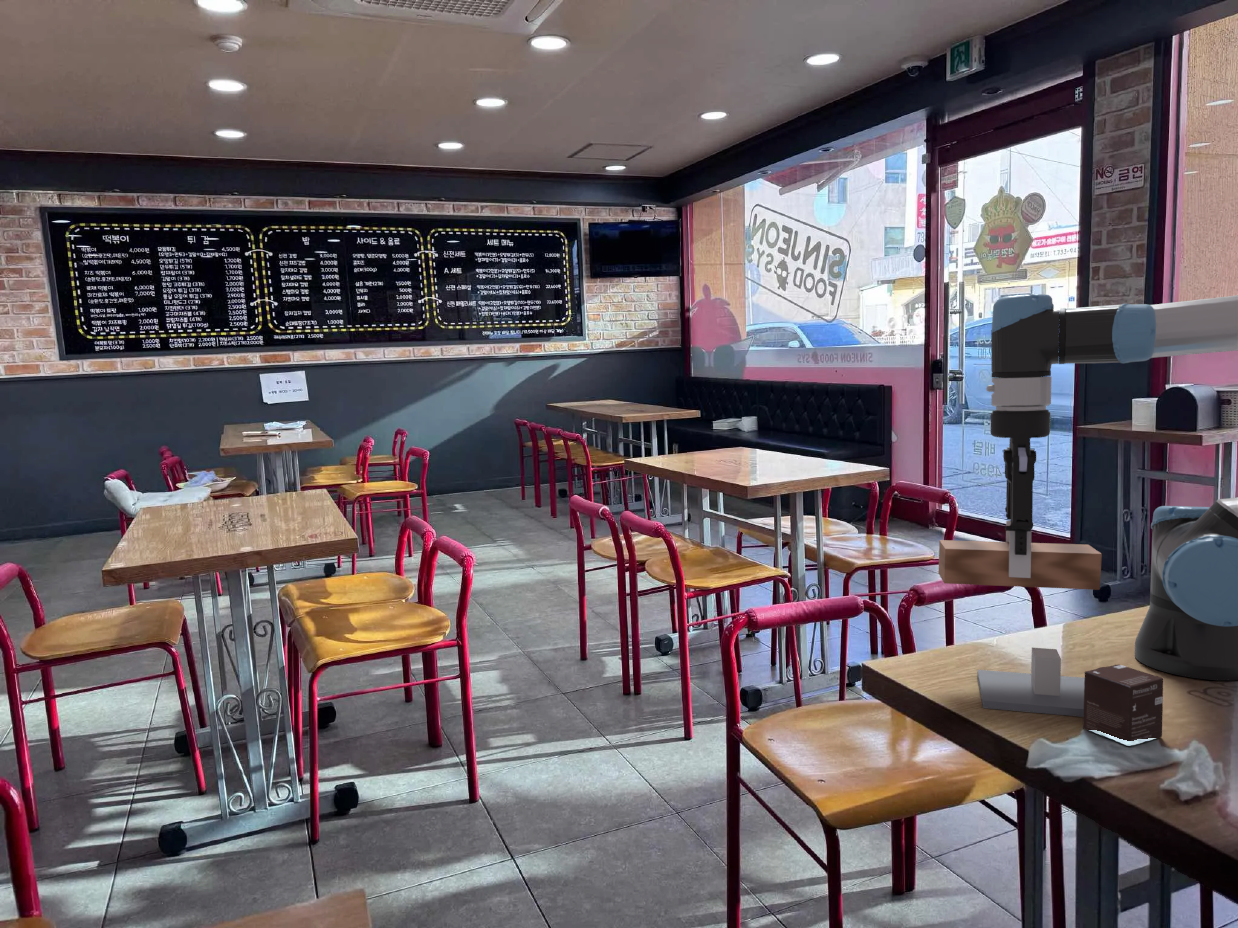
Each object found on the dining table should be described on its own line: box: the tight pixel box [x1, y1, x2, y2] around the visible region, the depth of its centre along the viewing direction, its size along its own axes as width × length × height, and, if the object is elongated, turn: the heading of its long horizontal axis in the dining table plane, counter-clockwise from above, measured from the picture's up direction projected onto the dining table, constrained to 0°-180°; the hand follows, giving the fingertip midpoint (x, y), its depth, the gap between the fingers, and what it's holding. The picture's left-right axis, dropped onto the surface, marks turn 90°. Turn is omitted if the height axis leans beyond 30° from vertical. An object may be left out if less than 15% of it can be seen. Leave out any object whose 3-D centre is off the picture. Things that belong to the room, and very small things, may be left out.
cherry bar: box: [937, 539, 1103, 591], centre depth 122 cm, size 20×6×5 cm, turn 77°
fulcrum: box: [976, 647, 1085, 718], centre depth 114 cm, size 16×12×6 cm
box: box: [1082, 664, 1164, 741], centre depth 102 cm, size 6×6×7 cm
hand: (1017, 570), depth 122 cm, fingers closed on cherry bar, 6 cm apart
